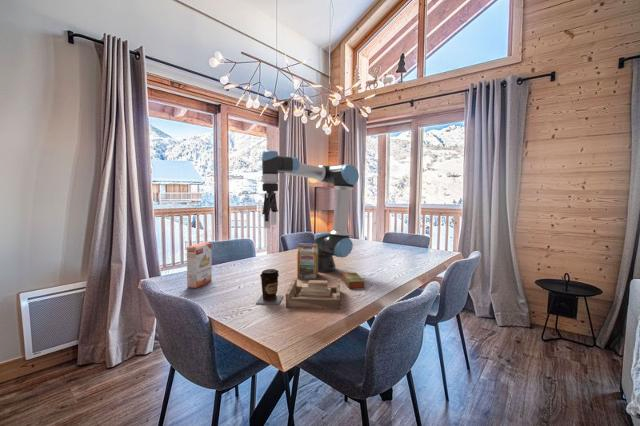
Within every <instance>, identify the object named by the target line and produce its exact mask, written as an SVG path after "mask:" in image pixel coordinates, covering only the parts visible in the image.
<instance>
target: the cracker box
mask: <svg viewBox="0 0 640 426" xmlns="http://www.w3.org/2000/svg"><path fill="white" fill-rule="evenodd" d="M212 269H213V268H212V243H211V242H200V243H197V244H194V245H190V246H187V247H186V270H187V271H186V278H187V279H186V281H187V282H186V283H187V284H186V287H187V288H190V289H197V288H200V287H201V286H203V285H206V284H207V283H210V282H212V280H213V279H212V278H213V277H212V273H213V272H212V271H213V270H212Z"/></svg>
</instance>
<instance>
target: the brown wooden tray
mask: <svg viewBox="0 0 640 426" xmlns="http://www.w3.org/2000/svg"><path fill="white" fill-rule="evenodd" d="M297 282H298V279H297V277H293V278H292V281H291V283H290V284H289V286H288V288H287V290H286V292H285V308H290V309H291V308H292V309H314V310H315V309H316V308H317V309H319V308H320V309H321V310H322V308H324V309H323V310H340V309H341V279H340V278H337V279H336V286H328V288H331V293H336V294H335V295H336V298H330V297H328V298H327V297H326V298H324V297H323V298H322V297H295V295H296V293H297V291H298V292H301V290H302V286H303V285H298V283H297Z"/></svg>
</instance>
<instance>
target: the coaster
mask: <svg viewBox="0 0 640 426" xmlns="http://www.w3.org/2000/svg"><path fill="white" fill-rule="evenodd" d="M276 296H277V299H276V300H273V301H264V300H263V295H262V294H261V295H260V297H259V299H258V300H257V301H256V303H255V305H263V306H264V305H265V306H266V305H267V306H269V305H270V306H273V305H274V306H279V305H280V304H281V301H282V300H283V298H284V295H283V294H282V295H280V294H279V295H278V294H276Z"/></svg>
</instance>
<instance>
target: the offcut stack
mask: <svg viewBox="0 0 640 426" xmlns="http://www.w3.org/2000/svg"><path fill="white" fill-rule="evenodd" d="M301 286H302V290H301V291H300V295H301V296H317V297H318V296H319V297H321V296H322V297H323V296H325V297H326V296H327V297H331V294H332V292H331V288H328V287H329V284H328V280H317V279H308V282H307V283H303V284H302V285H301Z"/></svg>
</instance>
